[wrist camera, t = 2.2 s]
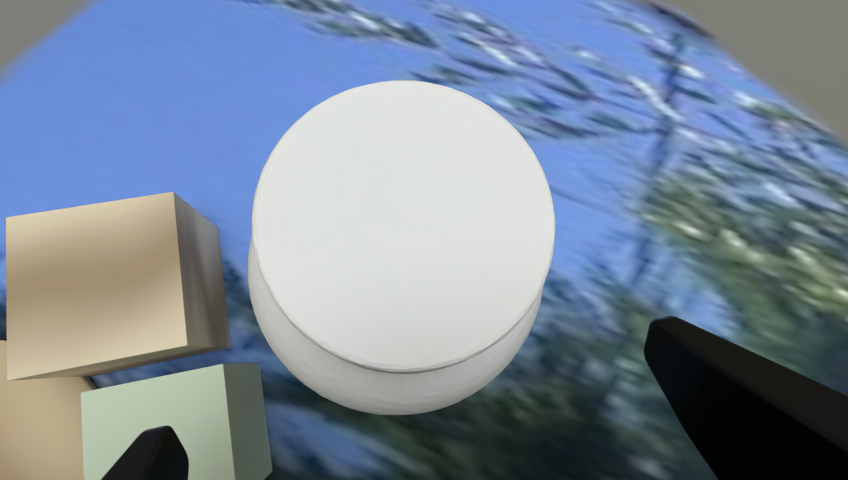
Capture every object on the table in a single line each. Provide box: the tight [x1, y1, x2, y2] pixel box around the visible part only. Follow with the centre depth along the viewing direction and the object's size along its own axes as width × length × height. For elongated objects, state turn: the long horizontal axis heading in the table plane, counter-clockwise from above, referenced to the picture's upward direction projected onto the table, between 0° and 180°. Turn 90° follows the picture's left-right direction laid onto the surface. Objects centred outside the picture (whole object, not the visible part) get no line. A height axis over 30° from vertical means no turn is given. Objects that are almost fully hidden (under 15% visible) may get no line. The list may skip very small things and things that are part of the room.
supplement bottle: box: [248, 81, 555, 415], centre depth 13 cm, size 7×7×13 cm
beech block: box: [6, 192, 231, 381], centre depth 17 cm, size 5×5×4 cm
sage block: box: [81, 363, 273, 480], centre depth 16 cm, size 4×4×4 cm
